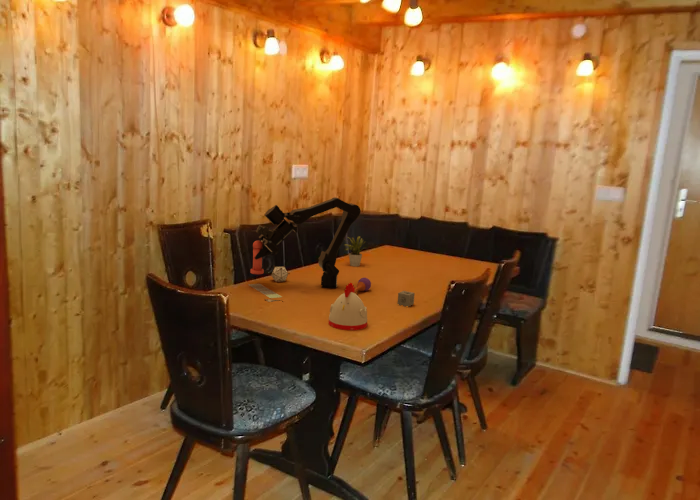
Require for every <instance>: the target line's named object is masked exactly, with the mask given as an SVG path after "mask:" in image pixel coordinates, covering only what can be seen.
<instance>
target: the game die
mask: <svg viewBox="0 0 700 500" xmlns="http://www.w3.org/2000/svg"><path fill="white" fill-rule="evenodd" d="M290 274H291V273H290V272H288V271H287V269H286V265H284V266H275V265H273V270H272V272H271V274H269V276H271V277H272V279H273V281H274V282H276V283H277V282H279V283H281V282H283V283H285V282H286V281H287V278H288V275H290Z"/></svg>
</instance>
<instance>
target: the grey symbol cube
mask: <svg viewBox="0 0 700 500" xmlns="http://www.w3.org/2000/svg"><path fill="white" fill-rule="evenodd" d="M415 295H416V294H415V292H412V291H408V290H407V291H406V290H402V291H400V292H398V293H397V304H399V305H398V306H401V305H403V306H402V307H406V306H408V307H407V308H409V306H410V307H412V306H414V305H413V304H415ZM411 305H412V306H411Z"/></svg>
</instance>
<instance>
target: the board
mask: <svg viewBox="0 0 700 500" xmlns="http://www.w3.org/2000/svg"><path fill="white" fill-rule="evenodd" d="M248 286H249V287H251V288H253V289H254V290H256V291H257V292H259V293H261V294H263V295H265V296H266V297H268V298H270V299H266V298H264V300H265V301H266V302H268V303H269V302H271V303H273V302H279V301H283V300H280V299H277V298H283V296H282V295H280V294H278V293H277V292H275V291H273V290H271V289H270V288H268V287H266V286H264V285H263V284H262V283H251V284H248Z"/></svg>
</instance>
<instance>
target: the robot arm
mask: <svg viewBox="0 0 700 500" xmlns="http://www.w3.org/2000/svg"><path fill="white" fill-rule="evenodd" d="M335 208H337V209H339V210H342V215H341V222H339V223H340V224H339V226H338V228H337V229H336V232H335V233H334V235H333V238H332V240H331V242H330V244H329V246H328V247H327V249H326V250H325V251H323V250H321V252H320V256H319V257H318V258H317V259H318V262H317V264H318V265H319V267H320V268H321V270H322V275H321V277H320V286H321V288H322V289H323V288H324V289H337V287H338V275H339V273H340V270H339V269H338V268H337V267H336V262H337V257H338V252H339V250H340V248H341V246H342V244H343V242H344V240H345V238H346V236H347V234H348V232H349V229H350V227H351V226H352V225H353V224H354V223H355V222H356V221H357V219H358V218H359V216H360V214H361V212H362V211H361V208H360V206H359V205H357V204H355V203H351V202H350V203H348V202H346V201H344V200H342V199H340V198H339V197H335V196H334V197H332V198H330V199H328V200H324V201H321V202H320V203H316V204H314V205H311V206H308V207H301V208H296V209H292V210H291V211H289V212H288V211H287V212H283V210H281V208H280V206H278V204H275V205H273V206H272V207H270V208H269V209H267V211H266V212H265V213H264V217H265V218H266V219H267V220H269V222H270V223H271V224H273V226H274V225H276V227H275V228H271V229H270V228H269V227H268V226H265V225H264V226H262V225H260V224H259V225H258V227H257V228H256V230H255V232H256V233H257V234H258V235H259V236H258V238H259V241H261V242H262V248H261V250H260V251H259V252H258V253H257V255H256V256H255V257H254V258H255V259H259V258H262V259H263V258H264V257H266V256H269V255H272V254H274V255H277V254H278V253H279V251H280V249H279V247H278V245H279V244H280V243H281V242H284V241H286V239H285V238H286V237H287V236H288V235H290V234H291V232H294V233H296V234H297V233H298V226H297V225H301V224H303V223H305V222H306V221H308V220H309V219H311V218H312V217H314V216H316V215H319V214H322V213H324V212H327V211H331V210H333V209H335ZM286 219H287V220H288V221H287V220H286ZM293 223H294V224H295V225H294V224H293Z"/></svg>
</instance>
